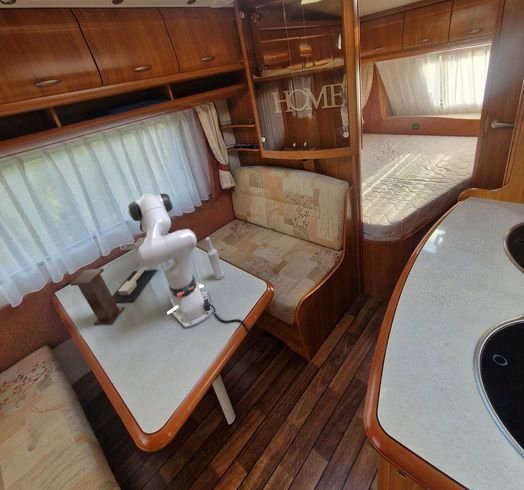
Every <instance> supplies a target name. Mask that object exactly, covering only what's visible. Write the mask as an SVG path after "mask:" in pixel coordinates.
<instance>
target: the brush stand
mask: <svg viewBox="0 0 524 490" xmlns="http://www.w3.org/2000/svg"><path fill="white" fill-rule="evenodd" d="M104 270H105V269H104V268H103V267H101V268H90V269H85V270H83V271H82V272H81V273H80V274H79V275H78V276H77V277H76V278H74V280H73V281H71V282H70V283H69V285H70V286H73V287H74V286H77V288H78V289H79V290H80V292H81V294H82V296H83V297H84V298H85V300H86V302H87V304H88V305H89V307H90V309H91V310H92V312H93V314H94V315H95V317H96V318H97V319H96V320H95V321H94V323H93V324H94V325H113V324H114V323H115V321H116V320H117V319H118V317H119V316H120V315H121V313H122V312H123V311H124V309H125V307H124V306H118V303H116V302H115V300H114V299H113V297H112V296H113V295H112V293H111V290H110V289H109V288H108V286H107V284H106V282H105V279H103V277H102V275H101V274H103V272H104Z"/></svg>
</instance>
